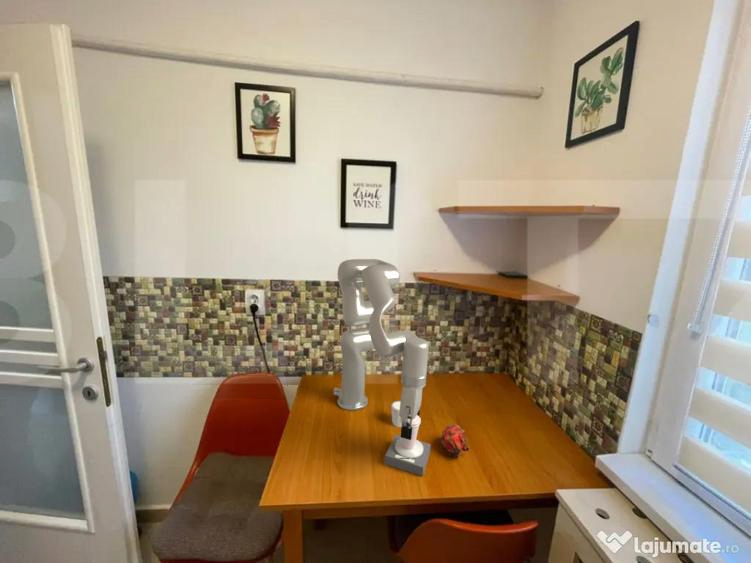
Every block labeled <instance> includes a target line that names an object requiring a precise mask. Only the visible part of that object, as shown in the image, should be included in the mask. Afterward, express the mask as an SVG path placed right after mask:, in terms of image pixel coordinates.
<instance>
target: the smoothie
mask: <svg viewBox="0 0 751 563" xmlns="http://www.w3.org/2000/svg"><path fill="white" fill-rule="evenodd" d="M403 416H404V415H403ZM409 417H411V415H409ZM402 419H403V417H401V419H400V421H401V423H402ZM421 420H422V419H421V417H420V415H419V416H418V415H416V417H415V419H413V420H412V425H411V427H412V438H411V440H408V439H405V438H403V447H404V448H405V449H407V450H412V449H414V447H415V443H416V440H417V436H418V432H419V428H420V425H421V423H422V422H421ZM408 422H409V423H410V419H408Z"/></svg>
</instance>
